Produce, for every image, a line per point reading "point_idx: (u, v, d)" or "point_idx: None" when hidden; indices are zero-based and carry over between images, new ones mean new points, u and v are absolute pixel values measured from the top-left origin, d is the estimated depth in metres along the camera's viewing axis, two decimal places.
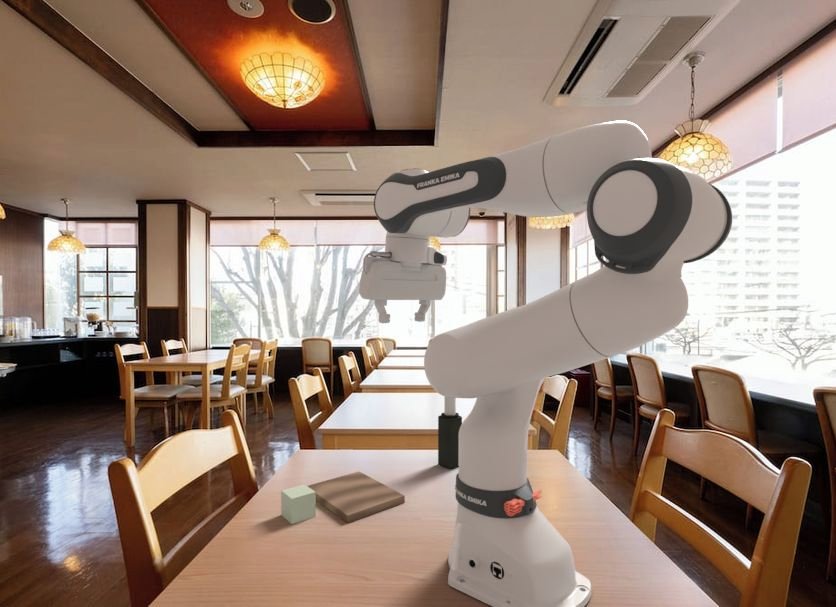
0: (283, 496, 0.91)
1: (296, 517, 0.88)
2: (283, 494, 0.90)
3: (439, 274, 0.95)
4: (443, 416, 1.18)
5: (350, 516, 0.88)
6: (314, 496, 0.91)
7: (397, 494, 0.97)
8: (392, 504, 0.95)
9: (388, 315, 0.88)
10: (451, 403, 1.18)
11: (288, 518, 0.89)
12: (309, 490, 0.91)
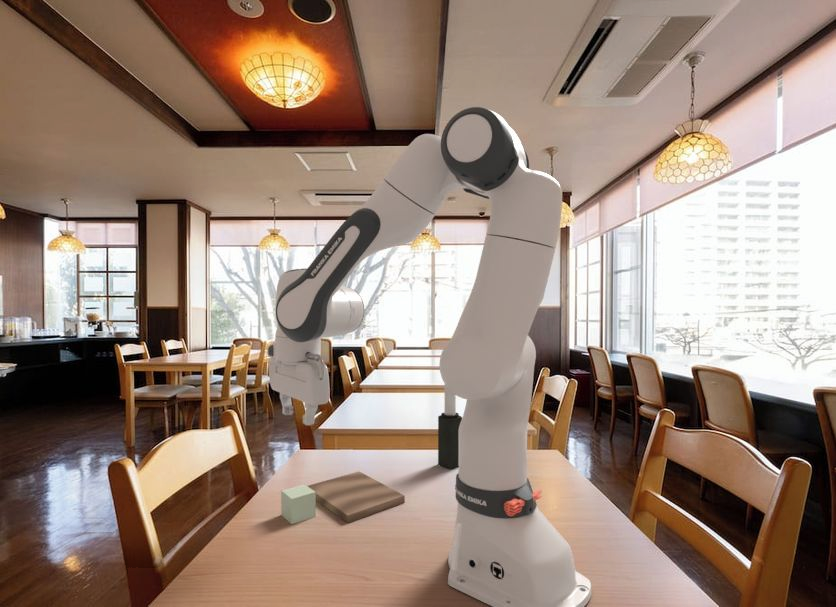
0: (283, 496, 0.90)
1: (296, 517, 0.88)
2: (283, 494, 0.90)
3: None
4: (443, 416, 1.18)
5: (350, 516, 0.88)
6: (314, 496, 0.91)
7: (397, 494, 0.97)
8: (392, 504, 0.95)
9: None
10: (451, 403, 1.18)
11: (288, 518, 0.89)
12: (309, 490, 0.91)
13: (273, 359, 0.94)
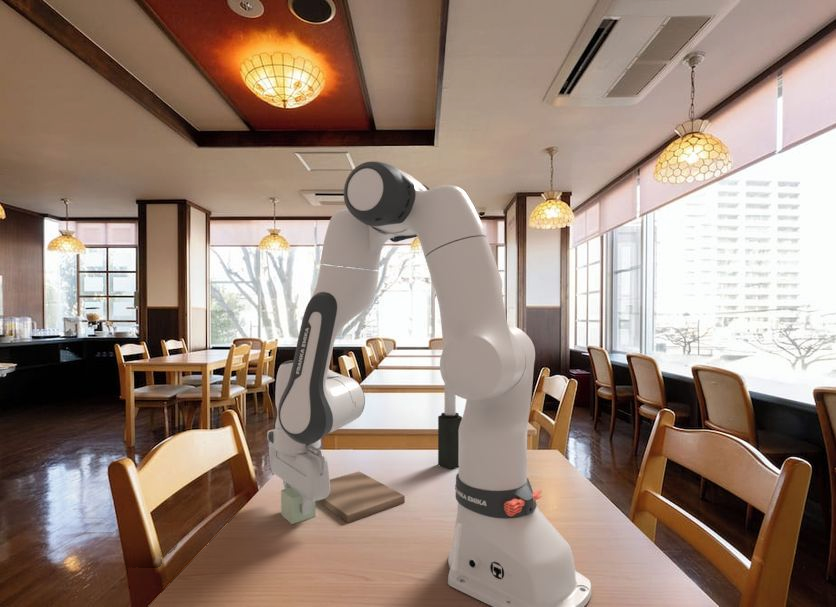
0: (283, 495, 0.91)
1: (296, 516, 0.88)
2: (283, 494, 0.90)
3: None
4: (443, 416, 1.18)
5: (350, 516, 0.88)
6: None
7: (397, 494, 0.97)
8: (392, 504, 0.95)
9: None
10: (451, 403, 1.18)
11: (288, 518, 0.89)
12: None
13: (273, 445, 0.94)
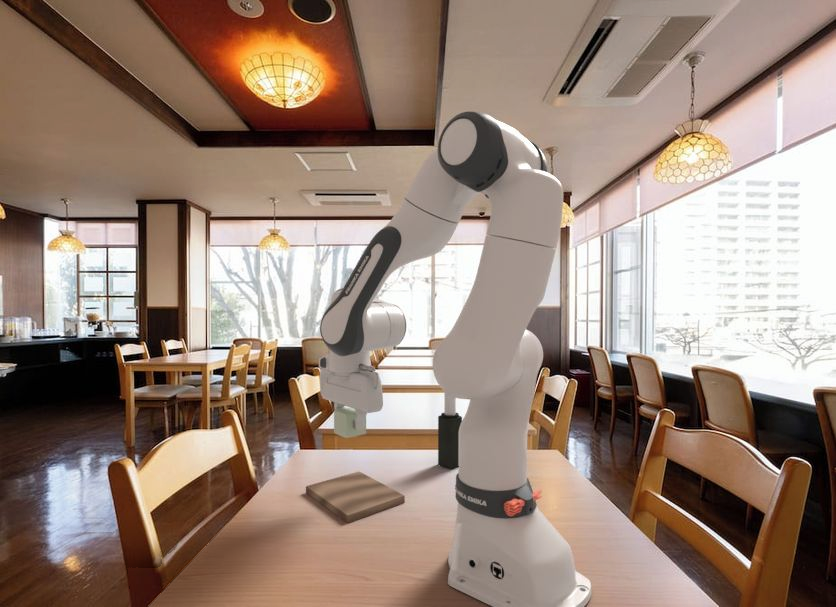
0: (336, 414, 0.98)
1: (349, 431, 0.96)
2: (336, 413, 0.98)
3: None
4: (443, 416, 1.18)
5: (350, 516, 0.88)
6: None
7: (397, 494, 0.97)
8: (392, 504, 0.95)
9: None
10: (451, 403, 1.18)
11: (342, 434, 0.96)
12: None
13: (325, 370, 1.01)
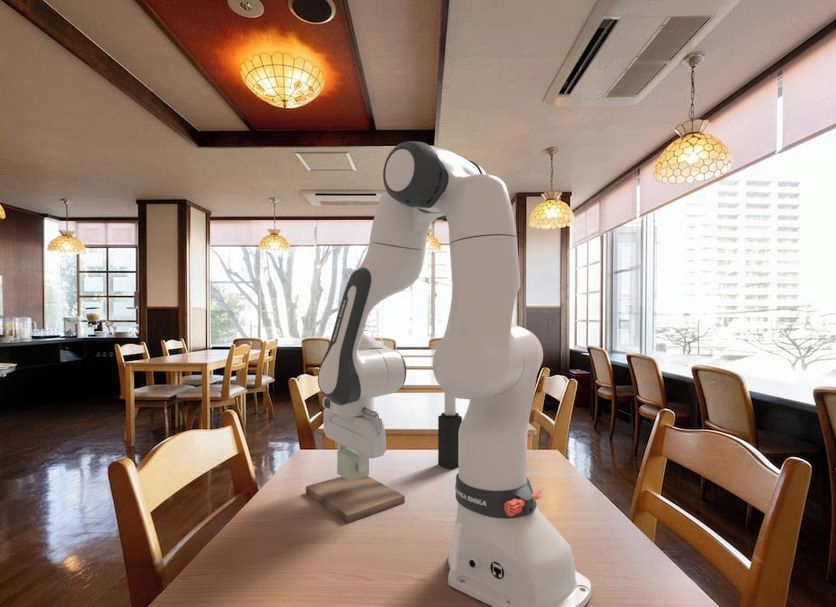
0: (339, 456, 0.99)
1: (352, 474, 0.97)
2: (340, 454, 0.99)
3: None
4: (443, 416, 1.18)
5: (350, 516, 0.88)
6: None
7: (397, 494, 0.97)
8: (392, 504, 0.95)
9: None
10: (451, 403, 1.18)
11: (345, 475, 0.97)
12: None
13: (329, 410, 1.02)
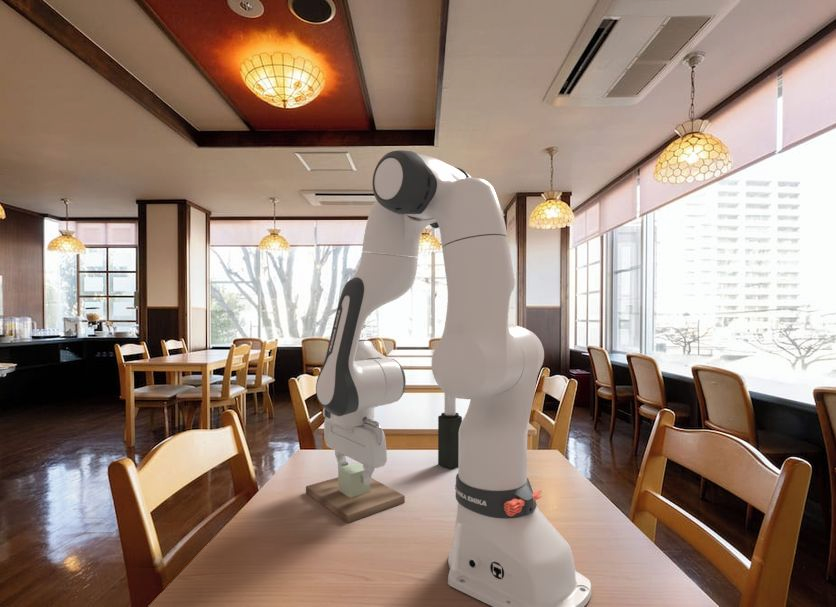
0: (340, 472, 0.99)
1: (353, 491, 0.96)
2: (341, 471, 0.99)
3: None
4: (443, 416, 1.18)
5: (350, 516, 0.88)
6: None
7: (397, 494, 0.97)
8: (392, 504, 0.95)
9: None
10: (451, 403, 1.18)
11: (346, 492, 0.97)
12: None
13: (329, 420, 1.02)
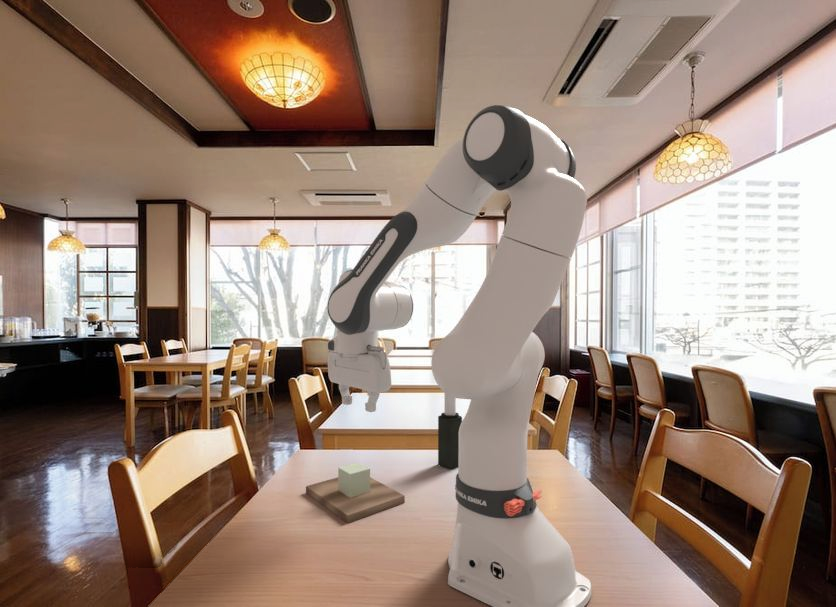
0: (340, 472, 0.99)
1: (353, 491, 0.96)
2: (341, 471, 0.99)
3: None
4: (443, 416, 1.18)
5: (350, 516, 0.88)
6: (369, 472, 0.99)
7: (397, 494, 0.97)
8: (392, 504, 0.95)
9: None
10: (451, 403, 1.18)
11: (346, 492, 0.97)
12: (363, 467, 1.00)
13: (333, 353, 1.02)
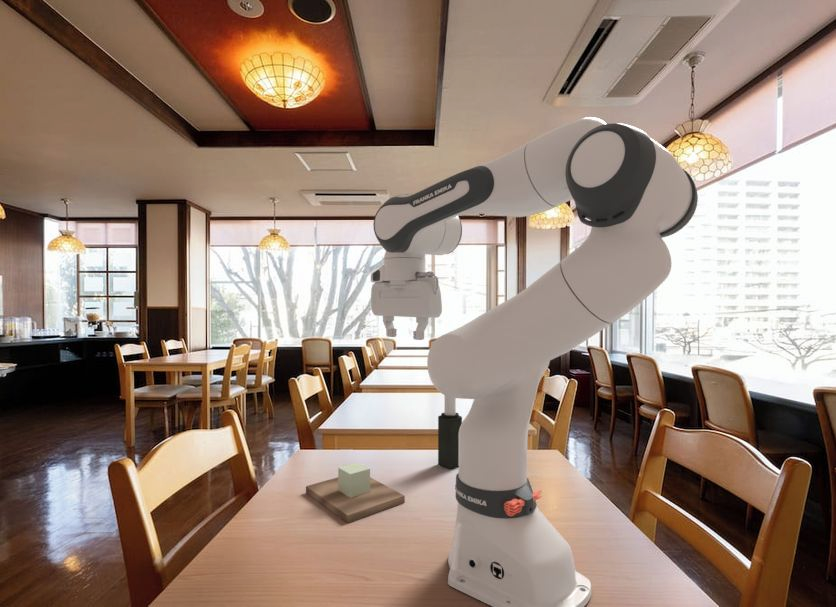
0: (340, 472, 0.99)
1: (353, 491, 0.96)
2: (341, 471, 0.99)
3: None
4: (443, 416, 1.18)
5: (350, 516, 0.88)
6: (369, 472, 0.99)
7: (397, 494, 0.97)
8: (392, 504, 0.95)
9: None
10: (451, 403, 1.18)
11: (346, 492, 0.97)
12: (363, 467, 1.00)
13: (378, 284, 1.00)
